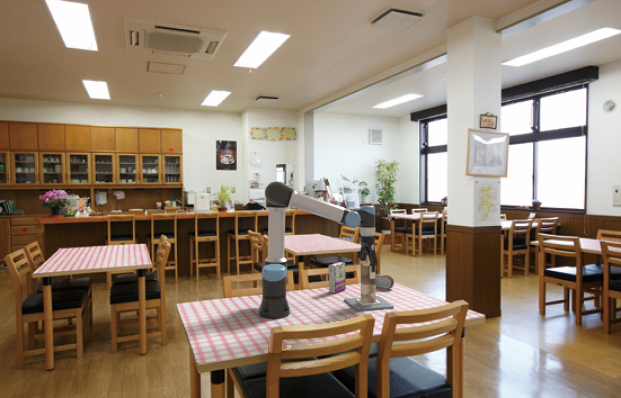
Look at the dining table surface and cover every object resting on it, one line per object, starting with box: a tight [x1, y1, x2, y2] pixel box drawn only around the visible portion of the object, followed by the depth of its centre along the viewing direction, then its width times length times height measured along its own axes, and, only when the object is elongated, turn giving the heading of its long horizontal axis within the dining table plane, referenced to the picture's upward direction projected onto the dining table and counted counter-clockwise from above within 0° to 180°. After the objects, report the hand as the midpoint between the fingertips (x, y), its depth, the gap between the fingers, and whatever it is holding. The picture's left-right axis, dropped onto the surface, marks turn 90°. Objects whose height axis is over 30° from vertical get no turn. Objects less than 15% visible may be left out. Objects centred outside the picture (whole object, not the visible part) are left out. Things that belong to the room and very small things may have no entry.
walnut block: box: [360, 262, 377, 285], centre depth 213 cm, size 6×6×10 cm
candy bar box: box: [328, 261, 347, 294], centre depth 241 cm, size 11×5×16 cm, turn 143°
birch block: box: [360, 282, 377, 303], centre depth 213 cm, size 6×6×10 cm
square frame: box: [356, 299, 381, 306], centre depth 213 cm, size 10×10×1 cm
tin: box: [376, 273, 395, 290], centre depth 247 cm, size 15×3×8 cm, turn 58°
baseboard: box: [343, 295, 395, 312], centre depth 213 cm, size 20×20×1 cm
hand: (367, 275), depth 213 cm, fingers open, 13 cm apart
